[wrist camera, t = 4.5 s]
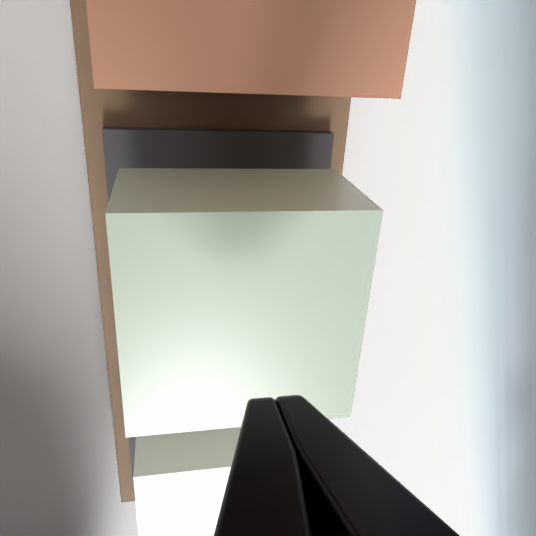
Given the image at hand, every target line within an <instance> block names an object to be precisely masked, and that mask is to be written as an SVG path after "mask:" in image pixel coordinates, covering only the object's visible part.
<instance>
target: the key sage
mask: <svg viewBox="0 0 536 536" xmlns="http://www.w3.org/2000/svg"><path fill="white" fill-rule="evenodd" d="M382 213H383V210H382V209H381V208H380V207H379V206H377V205H376V204H375V203H374V202H373V201H372V200H370V199H369V198H368V197H367V196H366V195H365V194H363V193H362V192H361V191H360V190H359V189H357V188H356V187H355V186H354V185H353V184H352V183H350V182H349V181H348V180H347V179H346V178H345V177H343V176H342V175H341V174H340V173H339V172H337V171H336V170H335V169H210V168H119V169H118V172H117V176H116V179H115V183H114V186H113V189H112V193H111V196H110V199H109V203H108V206H107V209H106V213H105V216H106V227H107V238H108V249H109V260H110V271H111V282H112V293H113V304H114V315H115V326H116V337H117V348H118V359H119V370H120V381H121V392H122V403H123V414H124V425H125V436H126V438H128V437H138V436H149V435H160V434H170V433H181V432H192V431H202V430H213V429H223V428H234V427H241V425H242V422H243V418H244V414H245V410H246V406H247V402H248V401H249V400H250V399H252V398H264V397H272V398H273V399H276V398H277V397H279V396H289V395H300V396H303V397H304V398H305V399H306V400H307V401H308V402H310V403H311V404H312V405H313V406H314V407H315V408H316V409H317V410H319V411H320V412H321V413H322V414H323V415H324V416H325V417H326V418H328V419H330V418H341V417H350V415H351V409H352V403H353V396H354V390H355V384H356V377H357V371H358V365H359V358H360V352H361V346H362V339H363V333H364V327H365V320H366V314H367V308H368V301H369V295H370V289H371V282H372V276H373V270H374V263H375V257H376V251H377V244H378V238H379V232H380V225H381V219H382Z"/></svg>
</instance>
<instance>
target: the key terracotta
mask: <svg viewBox="0 0 536 536" xmlns="http://www.w3.org/2000/svg"><path fill="white" fill-rule="evenodd" d="M415 4H416V0H86V6H87V17H88V28H89V39H90V50H91V61H92V72H93V84H94V89H122V90H152V91H182V92H213V93H243V94H273V95H304V96H334V97H365V98H395V99H401V92H402V86H403V80H404V73H405V67H406V61H407V54H408V48H409V42H410V35H411V29H412V23H413V16H414V10H415Z"/></svg>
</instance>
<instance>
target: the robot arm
mask: <svg viewBox="0 0 536 536" xmlns="http://www.w3.org/2000/svg"><path fill="white" fill-rule="evenodd" d="M214 536H459V535H458V534H457V533H456V532H455V531H454V530H453V529H451V528H450V527H449V526H448V525H447V524H446V523H445V522H444V521H442V520H441V519H440V518H439V517H438V516H437V515H436V514H435V513H433V512H432V511H431V510H430V509H429V508H428V507H427V506H426V505H424V504H423V503H422V502H421V501H420V500H419V499H418V498H417V497H415V496H414V495H413V494H412V493H411V492H410V491H409V490H408V489H406V488H405V487H404V486H403V485H402V484H401V483H400V482H399V481H397V480H396V479H395V478H394V477H393V476H392V475H391V474H390V473H388V472H387V471H386V470H385V469H384V468H383V467H382V466H381V465H379V464H378V463H377V462H376V461H375V460H374V459H373V458H372V457H370V456H369V455H368V454H367V453H366V452H365V451H364V450H363V449H361V448H360V447H359V446H358V445H357V444H356V443H355V442H353V441H352V440H351V439H350V438H349V437H348V436H347V435H346V434H344V433H343V432H342V431H341V430H340V429H339V428H338V427H337V426H335V425H334V424H333V423H332V422H331V421H330V420H329V419H328V418H326V417H325V416H324V415H323V414H322V413H321V412H320V411H319V410H317V409H316V408H315V407H314V406H313V405H312V404H311V403H310V402H308V401H307V400H306V399H305V398H304V397H303V396H300V395H289V396H279V397H277V398H276V399H273V398H272V397H264V398H252V399H250V400H249V401H248V402H247V406H246V410H245V414H244V418H243V422H242V425H241V429H240V433H239V437H238V441H237V445H236V449H235V453H234V457H233V461H232V465H231V469H230V473H229V477H228V481H227V485H226V489H225V493H224V497H223V501H222V505H221V509H220V512H219V516H218V520H217V524H216V528H215V532H214Z"/></svg>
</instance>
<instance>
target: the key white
mask: <svg viewBox="0 0 536 536" xmlns="http://www.w3.org/2000/svg"><path fill="white" fill-rule="evenodd" d="M240 429H241V427H234V428H223V429H213V430H202V431H192V432H181V433H170V434H160V435H149V436H138V437H136V443H135V459H134V475H133V479H134V491H135V503H136V514H137V526H138V536H214V532H215V528H216V524H217V520H218V516H219V512H220V509H221V505H222V501H223V497H224V493H225V489H226V485H227V481H228V477H229V473H230V469H231V465H232V461H233V457H234V453H235V449H236V445H237V441H238V437H239V433H240Z"/></svg>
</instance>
